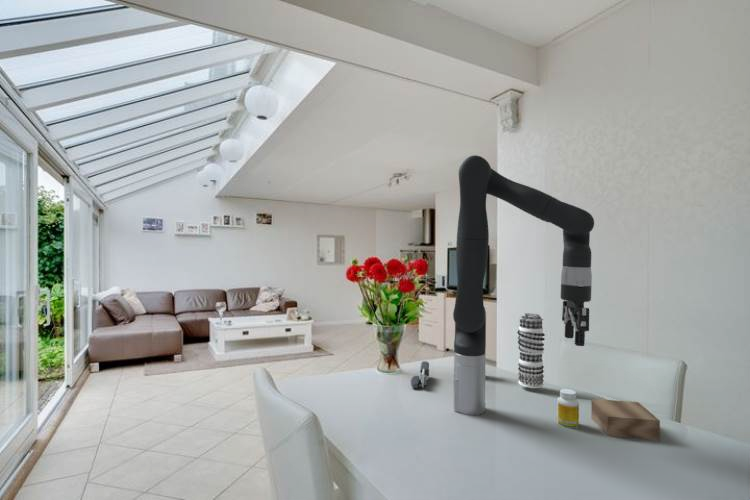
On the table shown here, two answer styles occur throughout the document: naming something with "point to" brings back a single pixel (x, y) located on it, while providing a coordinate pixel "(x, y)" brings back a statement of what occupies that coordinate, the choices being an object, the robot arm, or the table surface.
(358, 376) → the table surface
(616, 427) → the brown wooden block
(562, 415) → the supplement bottle
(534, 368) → the decorative candle
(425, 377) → the can opener
